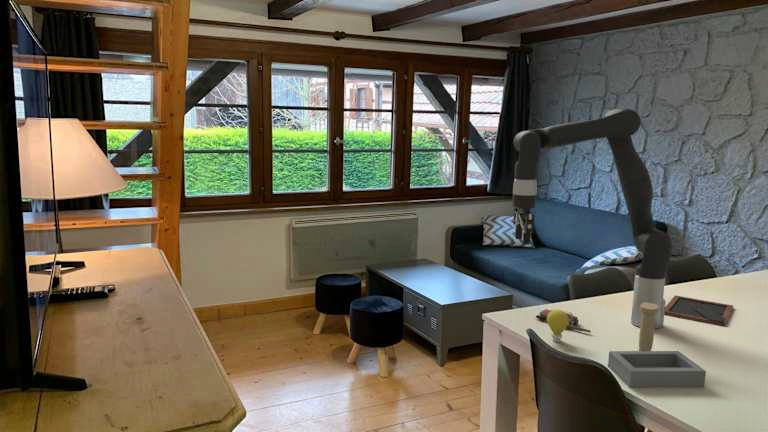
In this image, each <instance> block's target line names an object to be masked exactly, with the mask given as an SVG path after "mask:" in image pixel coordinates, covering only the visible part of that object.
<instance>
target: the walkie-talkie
mask: <svg viewBox="0 0 768 432" xmlns="http://www.w3.org/2000/svg"><path fill="white" fill-rule="evenodd" d="M553 310H555V309H554V308H552V309H547V308H546V309H544V310H542V311H540V312H539V315H538V314H536V315H535V318H536V319H538V320H539V321H540V322H544V323H548V322H547V316H548V314H549V313H550V312H551V311H553ZM563 311H564V312H565V313H566V314H567V316H568V318H569V323H568V325H567V327H566V328H565V330H567V329H569V330H571V329H573V330H575V331H580V332H586V333H591V332H592V331H591V330H590V329H586V328H583V327H579V326H578V325H579V319H578V317H577V316H575V315H573V313H572V312H570V311H566V310H563ZM575 325H576V326H575Z"/></svg>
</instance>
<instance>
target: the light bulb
mask: <svg viewBox="0 0 768 432" xmlns="http://www.w3.org/2000/svg"><path fill="white" fill-rule="evenodd" d="M564 311H565V310H562V309H554V310H553V311H551V312H550V313H549V314H548V316H547V322H546V323H547V324H548V325H547V326H549V328H550V330H551V338H552V341H553V342H556V343H557V342H561V339H562V338H563V334H562V333H563V332H564V331H565V330H566V329H565V328H566V327H567V325H568V323H569V318H568V316H567V314H566V313H565V312H564Z"/></svg>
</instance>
